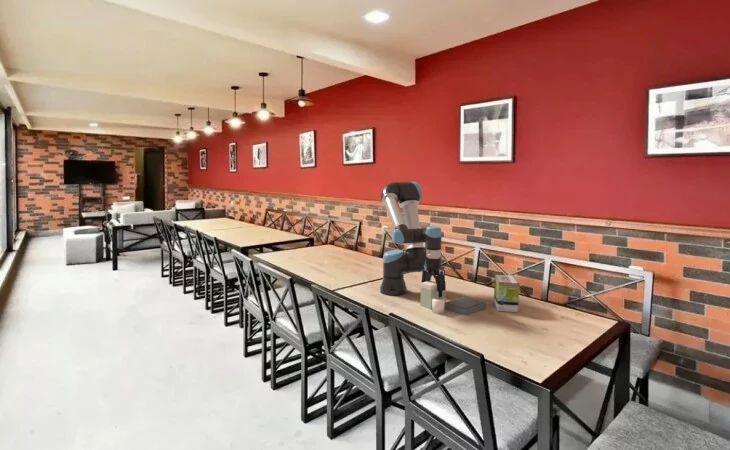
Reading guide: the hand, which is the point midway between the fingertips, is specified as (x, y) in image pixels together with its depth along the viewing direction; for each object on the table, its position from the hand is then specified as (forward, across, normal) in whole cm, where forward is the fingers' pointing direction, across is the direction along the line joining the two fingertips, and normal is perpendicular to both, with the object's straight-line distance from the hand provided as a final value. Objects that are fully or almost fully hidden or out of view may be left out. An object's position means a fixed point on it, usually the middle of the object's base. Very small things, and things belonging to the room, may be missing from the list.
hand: (432, 301), depth 202 cm
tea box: (+2, +25, +26) cm, 36 cm away
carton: (+2, 0, 0) cm, 2 cm away
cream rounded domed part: (+2, +8, -5) cm, 10 cm away
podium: (+2, +13, +9) cm, 16 cm away
